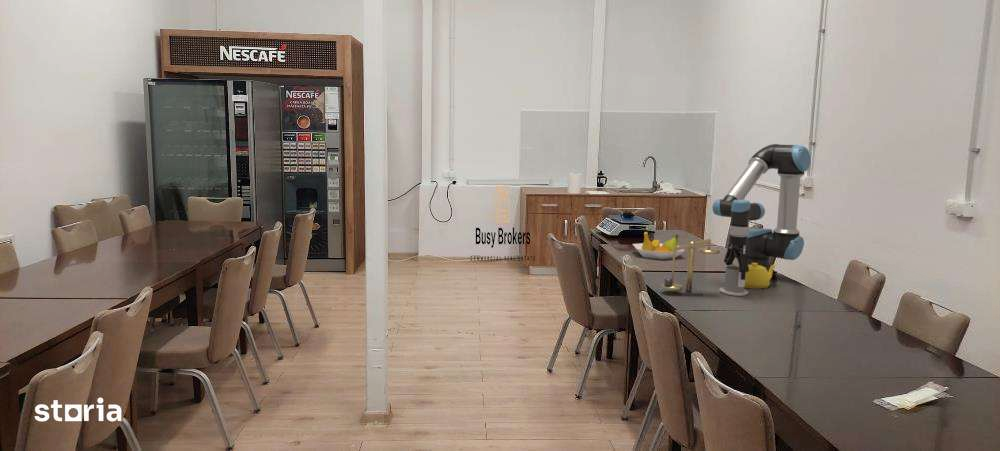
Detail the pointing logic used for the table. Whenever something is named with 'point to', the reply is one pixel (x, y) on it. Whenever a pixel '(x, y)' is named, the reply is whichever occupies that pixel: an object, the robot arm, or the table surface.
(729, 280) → the cup
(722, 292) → the dish
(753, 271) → the teapot
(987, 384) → the table surface
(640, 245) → the fruit
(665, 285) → the balance
